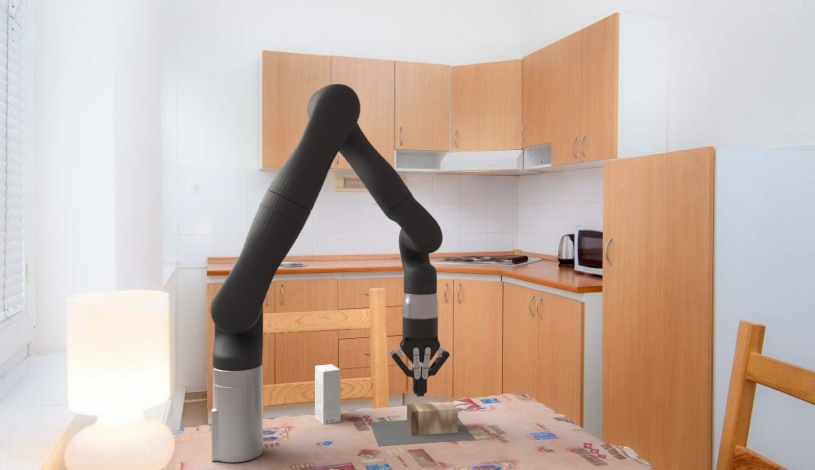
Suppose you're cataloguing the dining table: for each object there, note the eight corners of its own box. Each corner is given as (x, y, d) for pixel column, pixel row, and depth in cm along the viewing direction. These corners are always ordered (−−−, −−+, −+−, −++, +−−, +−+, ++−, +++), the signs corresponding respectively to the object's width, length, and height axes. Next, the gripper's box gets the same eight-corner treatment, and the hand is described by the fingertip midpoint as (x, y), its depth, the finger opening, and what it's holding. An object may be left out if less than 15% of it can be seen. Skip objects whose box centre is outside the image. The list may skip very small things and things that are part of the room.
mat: (378, 448, 121) (378, 446, 121) (369, 423, 135) (369, 422, 135) (475, 441, 124) (475, 439, 124) (457, 418, 138) (457, 416, 138)
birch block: (411, 411, 126) (458, 409, 128) (407, 404, 131) (452, 401, 133) (411, 435, 127) (457, 432, 128) (406, 427, 131) (451, 424, 133)
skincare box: (341, 423, 135) (341, 369, 135) (323, 426, 133) (323, 371, 133) (332, 415, 140) (331, 363, 140) (314, 417, 139) (314, 365, 138)
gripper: (392, 318, 124) (391, 402, 124) (455, 316, 126) (454, 399, 127) (386, 312, 131) (386, 391, 132) (446, 310, 133) (445, 388, 134)
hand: (419, 395), depth 129 cm, fingers closed
